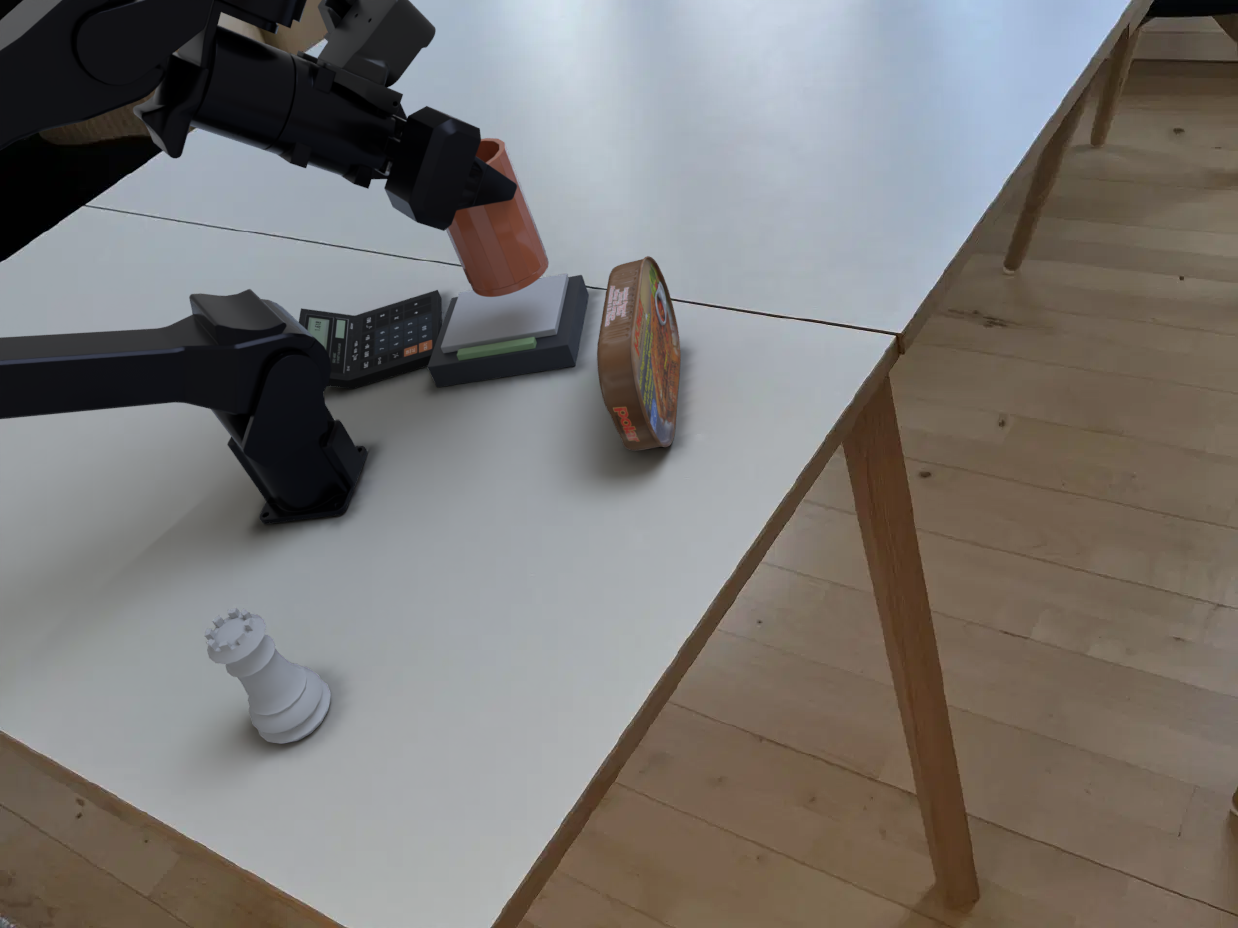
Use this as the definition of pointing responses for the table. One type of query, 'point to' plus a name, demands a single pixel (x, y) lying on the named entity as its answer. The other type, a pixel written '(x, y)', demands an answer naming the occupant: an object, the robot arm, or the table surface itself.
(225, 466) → the table surface
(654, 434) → the tin
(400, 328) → the calculator
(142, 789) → the table surface
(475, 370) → the scale
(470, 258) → the cup
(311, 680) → the rook chess piece
